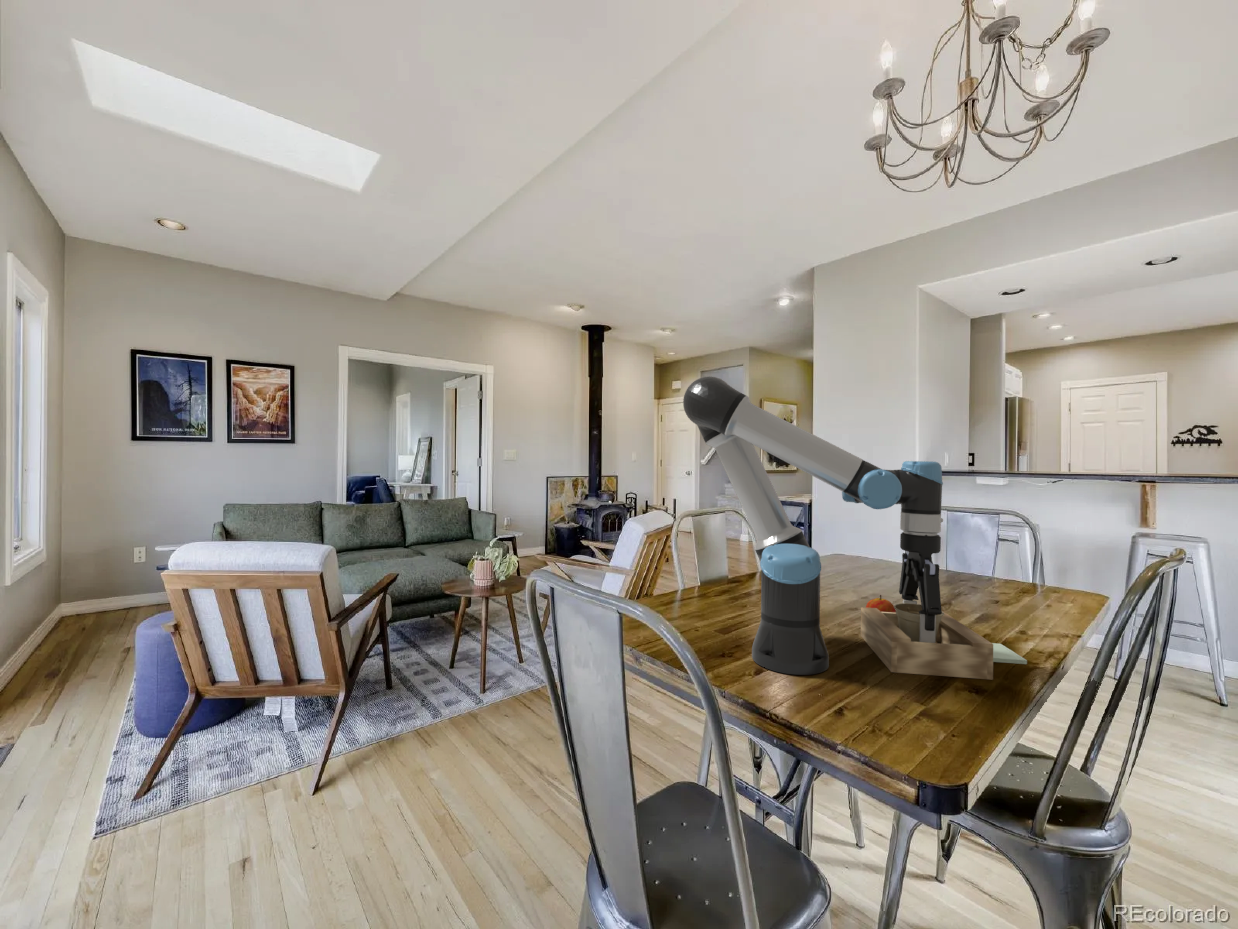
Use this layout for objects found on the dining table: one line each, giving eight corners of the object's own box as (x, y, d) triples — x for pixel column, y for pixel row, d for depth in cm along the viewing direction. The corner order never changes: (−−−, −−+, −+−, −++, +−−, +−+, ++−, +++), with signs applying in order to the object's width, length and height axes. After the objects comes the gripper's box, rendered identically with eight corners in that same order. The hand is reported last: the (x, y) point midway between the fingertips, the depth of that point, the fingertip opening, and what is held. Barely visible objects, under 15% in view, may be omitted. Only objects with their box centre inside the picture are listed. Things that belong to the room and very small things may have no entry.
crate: (891, 672, 103) (891, 637, 103) (860, 635, 124) (860, 607, 124) (992, 679, 99) (993, 644, 99) (943, 641, 121) (943, 611, 121)
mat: (973, 660, 109) (973, 656, 109) (951, 644, 119) (951, 640, 119) (1026, 664, 107) (1026, 660, 107) (1000, 647, 117) (1000, 643, 117)
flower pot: (951, 659, 106) (952, 617, 106) (900, 655, 108) (901, 613, 108) (933, 643, 116) (933, 604, 116) (887, 640, 117) (888, 601, 117)
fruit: (868, 620, 137) (868, 589, 137) (897, 625, 133) (898, 594, 133) (862, 627, 131) (862, 595, 131) (893, 632, 127) (893, 599, 127)
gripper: (963, 541, 100) (960, 657, 100) (919, 527, 122) (917, 622, 122) (921, 539, 102) (918, 654, 102) (885, 525, 123) (882, 620, 123)
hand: (917, 637), depth 112 cm, fingers closed on flower pot, 9 cm apart
